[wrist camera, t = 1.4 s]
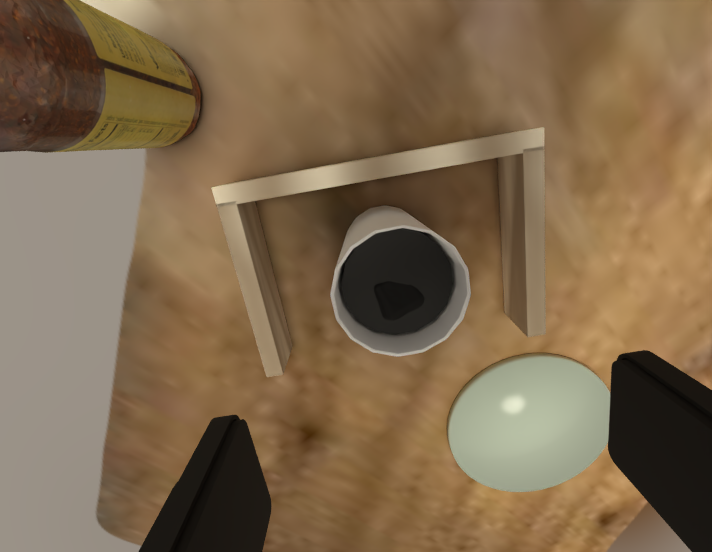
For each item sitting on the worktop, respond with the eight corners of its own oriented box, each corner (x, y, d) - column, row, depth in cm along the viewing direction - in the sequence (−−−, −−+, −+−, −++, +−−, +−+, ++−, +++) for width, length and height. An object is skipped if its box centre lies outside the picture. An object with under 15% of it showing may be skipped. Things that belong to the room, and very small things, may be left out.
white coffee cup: (441, 268, 27) (487, 329, 18) (359, 299, 28) (362, 374, 19) (411, 183, 25) (446, 201, 16) (324, 220, 26) (307, 258, 17)
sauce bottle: (100, 40, 22) (-1227, -552, 4) (201, 43, 23) (-583, -527, 4) (119, 152, 25) (-657, 146, 6) (212, 154, 25) (-252, 156, 6)
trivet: (612, 340, 29) (619, 345, 28) (604, 473, 34) (610, 480, 33) (439, 367, 30) (441, 372, 29) (453, 493, 34) (456, 501, 34)
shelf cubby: (514, 131, 24) (544, 126, 20) (519, 310, 28) (545, 334, 25) (232, 182, 25) (211, 187, 21) (278, 348, 29) (266, 377, 26)
